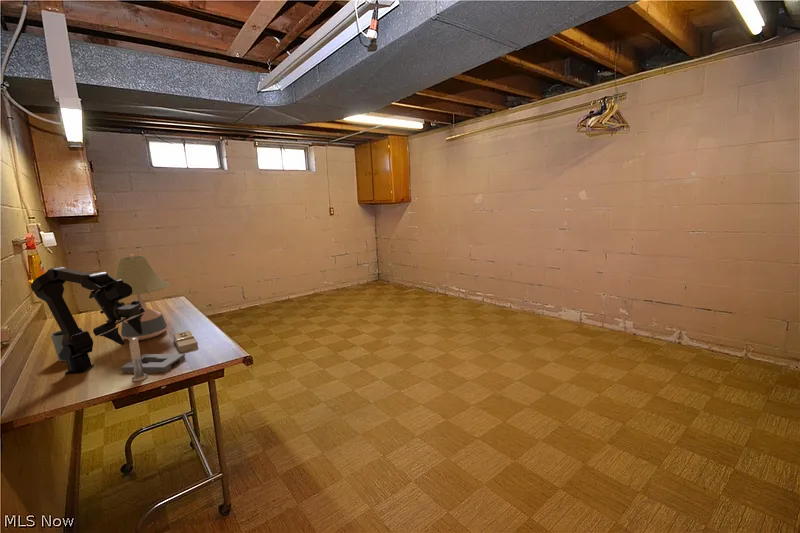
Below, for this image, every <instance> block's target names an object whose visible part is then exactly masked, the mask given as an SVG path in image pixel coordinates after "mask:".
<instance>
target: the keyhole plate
mask: <svg viewBox="0 0 800 533" xmlns="http://www.w3.org/2000/svg"><path fill="white" fill-rule="evenodd" d="M141 360H142V366H143V372H144V373H167V372H169V371H170V370H172V365H173V364H174V363H175V364H179V363H182V362H184V361H185V360H186V354H185V353H144V354H142V355H141ZM120 369H121V370H122V371H121V372H122V373H134V369H133V364H132V360H131V361H130V362H128V363H126V364H124V365H122V366H121V367H120Z"/></svg>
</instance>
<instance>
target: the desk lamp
mask: <svg viewBox="0 0 800 533" xmlns="http://www.w3.org/2000/svg"><path fill="white" fill-rule="evenodd" d="M113 278H114V279H115V280H122V281H123V282H124V283H127V284H129V285H130V286H131V287H132V294H131V295H130V296H134V295H136V300H138V301H139V302H140V303H141V306H142V307H143V309H144V310H145V312H143V313H141V314H143V315H142V317H141V327H142V334H139V333H137V332H136V331H135V330H134V329H133V327H132V326H131V325H130V324H129V323H128V322H127V320H129V319H126V320H124V321H122V322H121V330H120V332H121V333H120V336H121V338H122V339H123V340H124V339H125V340H128V339H130V338H134V337H137V338H138V341H143V340H144V341H145V340H149V339H152V338H155V337H156V338H157V336H160V335H161V334H162V333H164V332H165V331H166V330H167V329H168V325H167V322H166V320H165V319H164V317H163V316H164V315H163V314H162V313H161V312H160V311H157V310H154V309H151V308H148V307H147V306H148V305H147V304H146V301H145V300H143V299H142V295H141V294H148V293H152V292H156V291H160V290H163V289H165V288H168V287H170V286H171V284H170V283H168V282H167V281H166V280H164V279H163V278H162V277H161V276H160V275H158V274H157V273H156V271H155V270H154V269H153V268H152V267H151V265H150V264H149V262H148V260H147V259H146V257H145V256H143V255H138V256H137V255H136V256H135V254H129V256H127V257H122V258H119V260H118V264H117V269H116V271H115V274H114V276H113Z"/></svg>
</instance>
